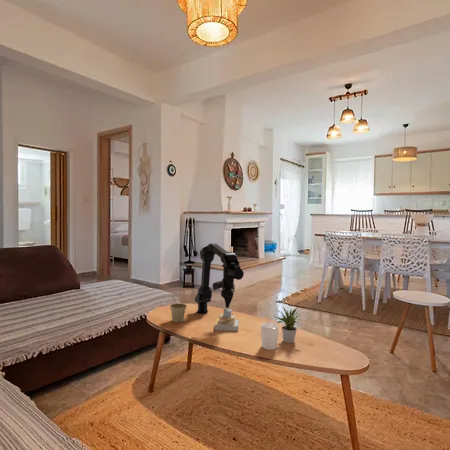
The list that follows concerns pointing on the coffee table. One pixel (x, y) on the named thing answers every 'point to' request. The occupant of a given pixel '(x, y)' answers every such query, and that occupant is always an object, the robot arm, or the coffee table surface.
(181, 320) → the flower pot
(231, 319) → the pallet
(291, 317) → the house plant
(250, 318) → the coffee table surface
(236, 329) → the dock
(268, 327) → the white cup
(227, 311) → the grey square block
